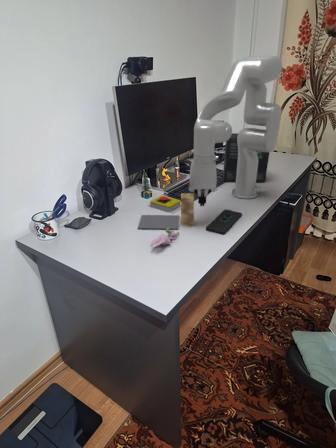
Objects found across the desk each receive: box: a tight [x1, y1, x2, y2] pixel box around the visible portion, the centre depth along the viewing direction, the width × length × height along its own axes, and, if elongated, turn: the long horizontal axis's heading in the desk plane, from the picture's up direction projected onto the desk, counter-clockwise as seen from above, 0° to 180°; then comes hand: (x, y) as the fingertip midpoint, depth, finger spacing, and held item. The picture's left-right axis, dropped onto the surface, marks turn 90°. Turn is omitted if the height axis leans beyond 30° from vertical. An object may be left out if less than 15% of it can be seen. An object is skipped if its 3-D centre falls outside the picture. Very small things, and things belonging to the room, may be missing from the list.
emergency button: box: [147, 195, 181, 214], centre depth 141 cm, size 9×4×15 cm
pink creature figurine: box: [150, 228, 180, 248], centre depth 111 cm, size 6×6×15 cm
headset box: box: [222, 132, 270, 184], centre depth 167 cm, size 22×12×26 cm, turn 84°
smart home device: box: [205, 209, 243, 236], centre depth 126 cm, size 8×2×20 cm
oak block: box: [180, 192, 195, 227], centre depth 123 cm, size 5×5×12 cm
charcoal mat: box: [137, 214, 180, 231], centre depth 126 cm, size 16×12×1 cm
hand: (202, 204), depth 122 cm, fingers closed
